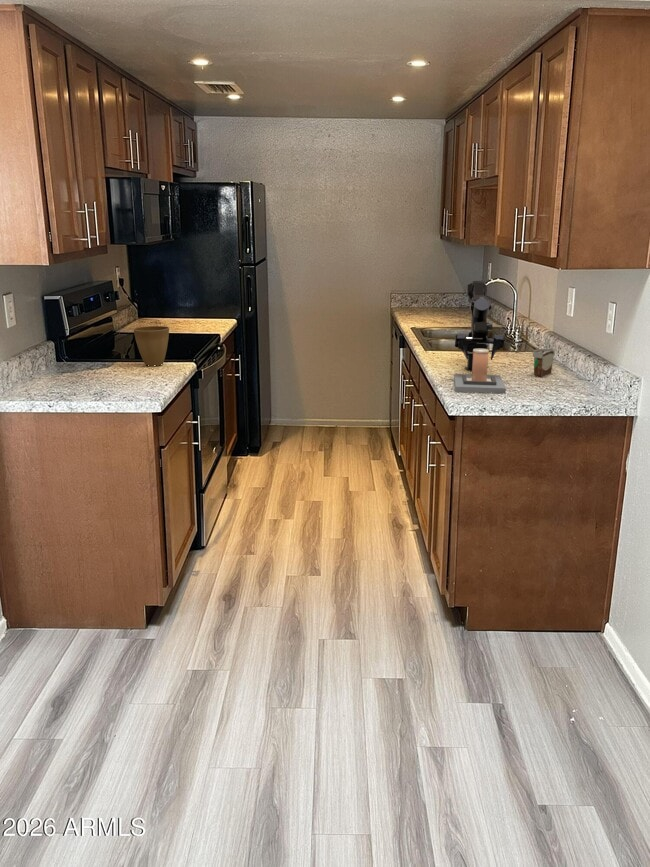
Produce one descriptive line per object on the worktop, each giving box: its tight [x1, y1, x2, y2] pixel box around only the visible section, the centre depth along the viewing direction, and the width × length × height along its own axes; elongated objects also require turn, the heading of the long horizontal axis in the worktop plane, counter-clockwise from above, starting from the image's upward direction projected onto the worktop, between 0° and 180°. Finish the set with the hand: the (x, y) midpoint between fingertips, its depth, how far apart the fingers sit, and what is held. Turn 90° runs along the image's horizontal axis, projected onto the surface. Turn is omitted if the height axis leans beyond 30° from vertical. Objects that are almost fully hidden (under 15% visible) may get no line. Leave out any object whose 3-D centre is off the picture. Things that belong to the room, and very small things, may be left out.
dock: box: [453, 373, 507, 394], centre depth 284 cm, size 24×18×3 cm
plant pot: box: [133, 325, 170, 367], centre depth 319 cm, size 15×15×16 cm
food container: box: [532, 348, 555, 378], centre depth 304 cm, size 12×6×10 cm, turn 141°
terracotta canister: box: [471, 348, 490, 381], centre depth 281 cm, size 6×6×12 cm
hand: (479, 359), depth 286 cm, fingers open, 9 cm apart
